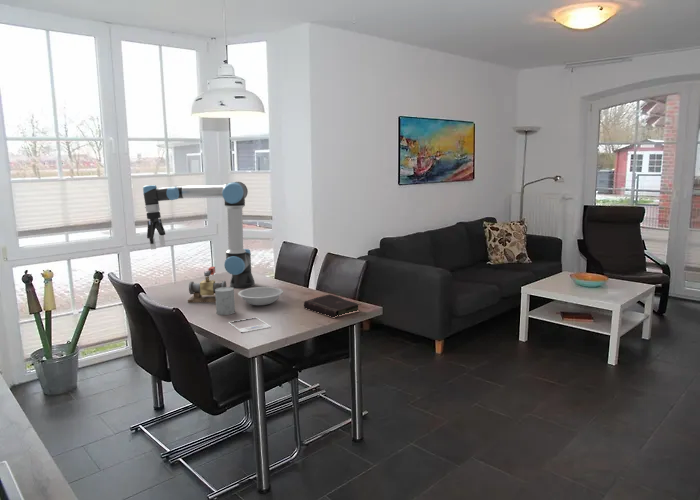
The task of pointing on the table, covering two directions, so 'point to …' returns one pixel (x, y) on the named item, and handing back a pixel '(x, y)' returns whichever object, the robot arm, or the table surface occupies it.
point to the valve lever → (210, 271)
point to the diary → (331, 305)
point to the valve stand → (204, 290)
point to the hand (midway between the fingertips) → (158, 247)
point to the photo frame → (252, 326)
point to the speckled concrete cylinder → (225, 300)
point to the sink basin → (260, 295)
